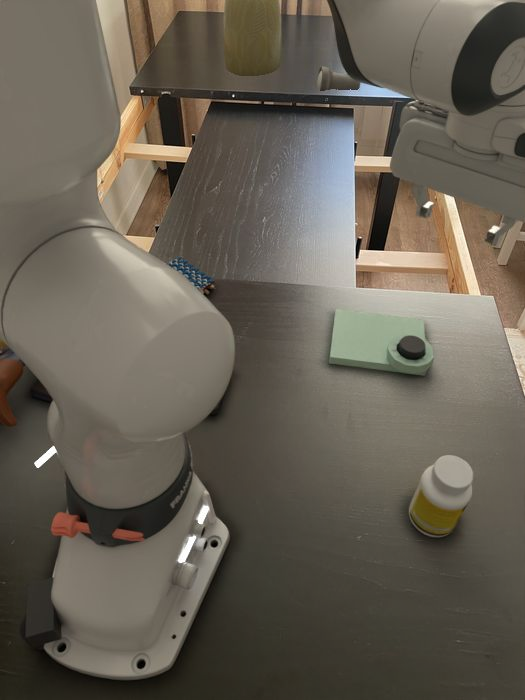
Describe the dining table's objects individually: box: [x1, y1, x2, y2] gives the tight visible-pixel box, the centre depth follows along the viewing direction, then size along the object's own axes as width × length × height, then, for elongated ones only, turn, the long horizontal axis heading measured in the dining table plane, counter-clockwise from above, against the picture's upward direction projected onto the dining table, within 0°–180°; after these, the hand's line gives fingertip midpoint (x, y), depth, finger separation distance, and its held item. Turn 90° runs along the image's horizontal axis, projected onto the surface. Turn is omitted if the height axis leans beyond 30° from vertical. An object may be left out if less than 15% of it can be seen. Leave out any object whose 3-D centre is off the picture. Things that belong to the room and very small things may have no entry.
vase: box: [222, 0, 282, 76], centre depth 156 cm, size 17×17×27 cm
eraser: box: [29, 378, 53, 403], centre depth 74 cm, size 11×4×2 cm, turn 71°
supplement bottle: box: [408, 454, 474, 538], centre depth 59 cm, size 5×5×10 cm
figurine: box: [0, 339, 26, 428], centre depth 77 cm, size 20×10×30 cm
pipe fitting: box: [316, 66, 361, 91], centre depth 153 cm, size 12×8×10 cm
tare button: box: [398, 335, 425, 360], centre depth 77 cm, size 4×4×2 cm
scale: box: [328, 308, 435, 377], centre depth 81 cm, size 12×15×3 cm
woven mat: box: [166, 256, 215, 295], centre depth 91 cm, size 10×11×2 cm
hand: (456, 229), depth 68 cm, fingers open, 8 cm apart
